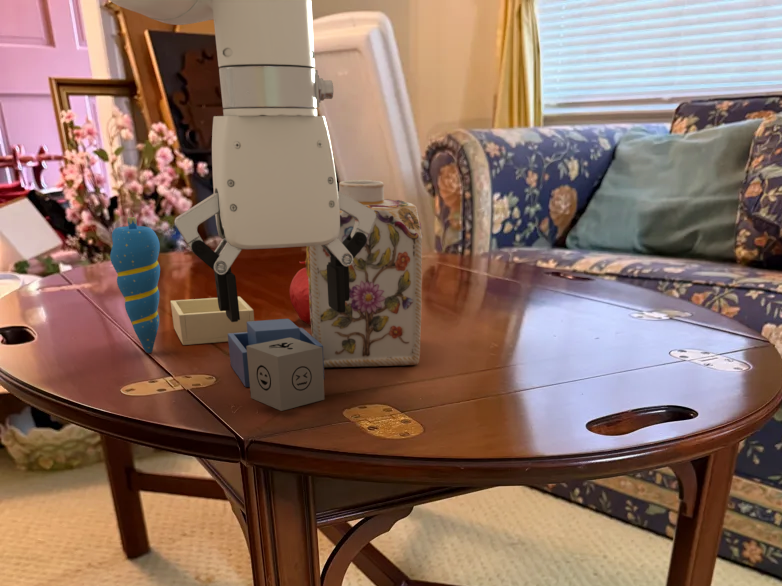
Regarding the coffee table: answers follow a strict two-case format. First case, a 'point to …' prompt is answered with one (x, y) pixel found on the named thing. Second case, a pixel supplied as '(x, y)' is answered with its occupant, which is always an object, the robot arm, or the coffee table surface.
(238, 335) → the blue bin
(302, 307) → the pomegranate
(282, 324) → the blue block
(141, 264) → the ornament
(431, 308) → the coffee table surface
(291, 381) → the dice cube
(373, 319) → the decorative jar
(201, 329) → the cream bin
